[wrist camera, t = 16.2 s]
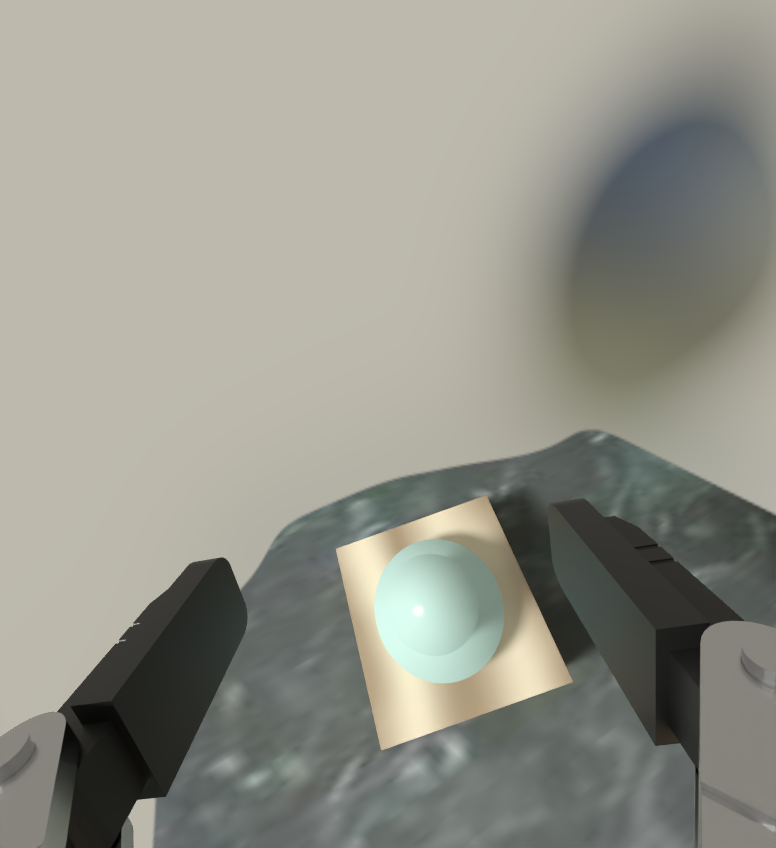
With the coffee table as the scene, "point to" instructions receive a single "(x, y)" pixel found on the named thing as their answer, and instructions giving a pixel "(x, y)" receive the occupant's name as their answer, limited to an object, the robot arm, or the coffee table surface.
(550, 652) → the block
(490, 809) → the coffee table surface
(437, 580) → the mint green knob
